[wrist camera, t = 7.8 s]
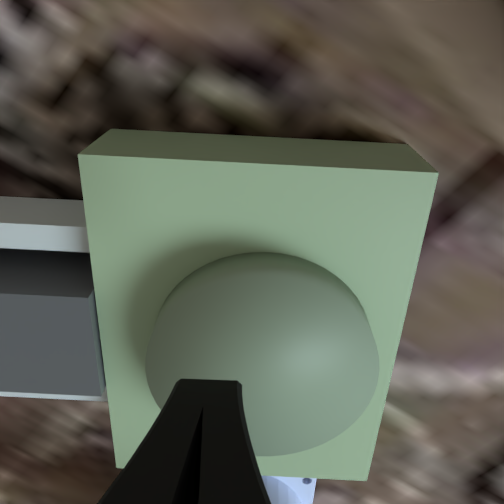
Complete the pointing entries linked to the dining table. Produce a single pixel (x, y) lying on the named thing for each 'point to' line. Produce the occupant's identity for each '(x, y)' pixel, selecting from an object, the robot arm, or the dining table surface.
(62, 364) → the grey cube with stripe
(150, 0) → the dining table surface
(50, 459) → the dining table surface
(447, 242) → the dining table surface
